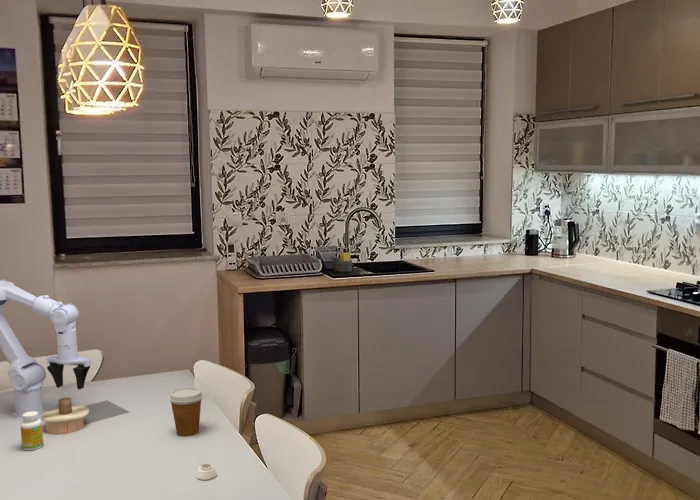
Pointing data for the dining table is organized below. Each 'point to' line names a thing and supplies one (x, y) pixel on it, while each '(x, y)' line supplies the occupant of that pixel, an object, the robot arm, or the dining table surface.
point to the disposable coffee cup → (186, 410)
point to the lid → (65, 412)
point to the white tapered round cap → (206, 472)
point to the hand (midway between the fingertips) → (70, 387)
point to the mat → (102, 411)
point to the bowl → (64, 427)
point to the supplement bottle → (31, 431)
